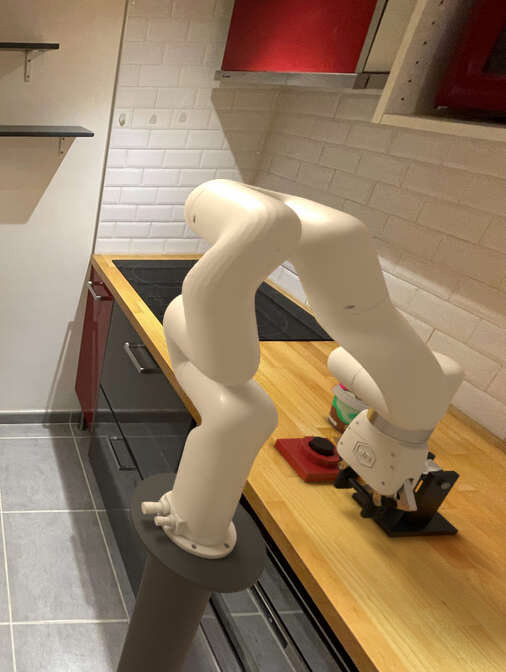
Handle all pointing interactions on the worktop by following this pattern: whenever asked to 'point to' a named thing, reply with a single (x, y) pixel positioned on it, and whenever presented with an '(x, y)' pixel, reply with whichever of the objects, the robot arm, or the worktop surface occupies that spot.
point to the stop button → (322, 446)
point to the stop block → (309, 459)
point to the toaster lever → (366, 489)
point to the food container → (344, 408)
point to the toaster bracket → (420, 508)
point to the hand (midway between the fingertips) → (355, 500)
